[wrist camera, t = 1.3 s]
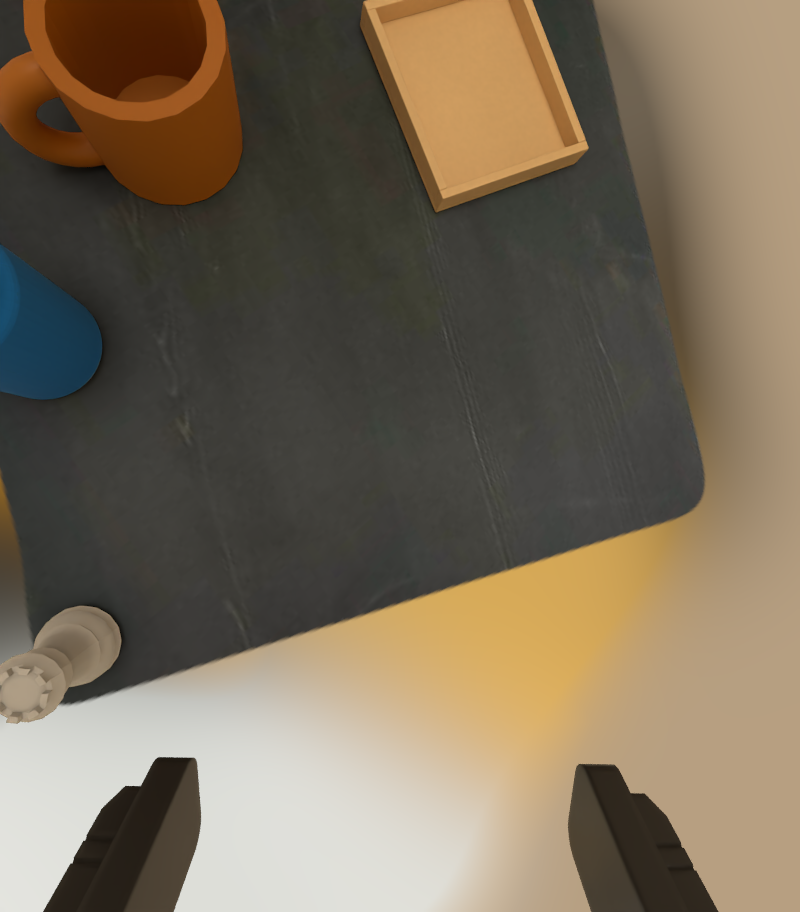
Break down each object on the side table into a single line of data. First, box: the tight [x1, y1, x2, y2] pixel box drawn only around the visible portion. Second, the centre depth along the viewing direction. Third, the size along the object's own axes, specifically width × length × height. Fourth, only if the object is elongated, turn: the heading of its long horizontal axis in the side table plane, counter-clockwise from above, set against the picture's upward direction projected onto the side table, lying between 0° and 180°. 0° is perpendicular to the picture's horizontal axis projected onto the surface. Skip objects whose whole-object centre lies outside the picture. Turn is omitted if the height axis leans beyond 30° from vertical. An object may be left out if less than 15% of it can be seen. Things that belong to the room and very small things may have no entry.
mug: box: [0, 0, 243, 205], centre depth 30 cm, size 9×12×9 cm
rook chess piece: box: [0, 606, 122, 724], centre depth 29 cm, size 4×4×8 cm
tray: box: [360, 0, 588, 212], centre depth 37 cm, size 13×11×2 cm
